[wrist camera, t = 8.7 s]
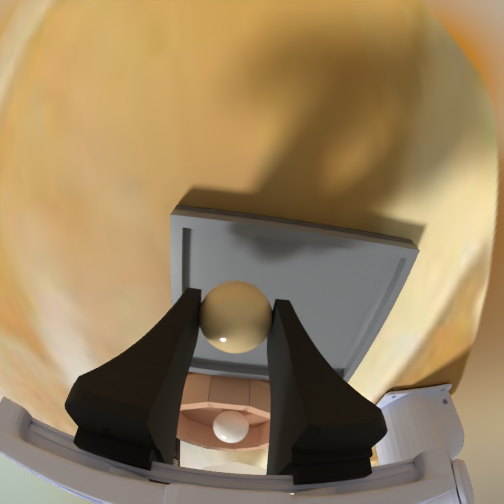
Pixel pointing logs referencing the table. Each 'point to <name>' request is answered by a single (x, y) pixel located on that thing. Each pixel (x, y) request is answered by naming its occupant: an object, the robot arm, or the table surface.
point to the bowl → (221, 399)
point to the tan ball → (235, 316)
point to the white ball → (230, 426)
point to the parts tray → (291, 280)
